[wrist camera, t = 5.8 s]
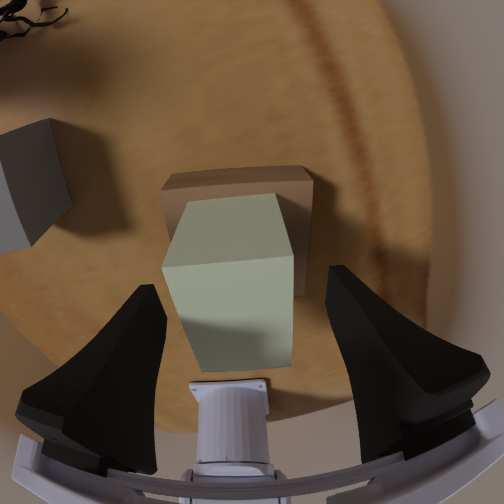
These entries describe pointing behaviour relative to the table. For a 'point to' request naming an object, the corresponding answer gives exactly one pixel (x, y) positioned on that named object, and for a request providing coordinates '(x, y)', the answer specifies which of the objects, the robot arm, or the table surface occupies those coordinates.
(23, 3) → the creature
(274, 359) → the sage brick
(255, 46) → the table surface
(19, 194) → the charcoal brick
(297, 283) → the walnut block
